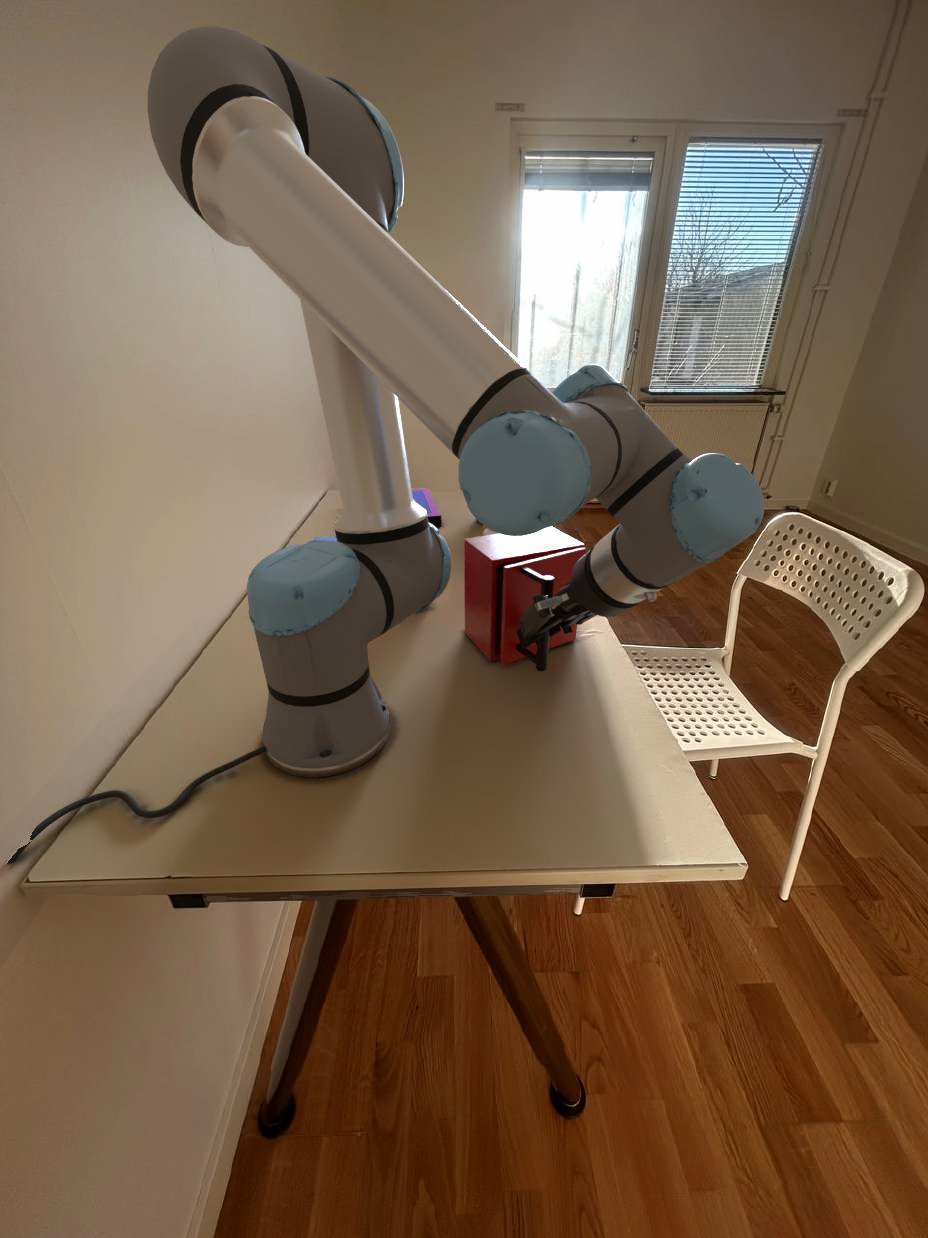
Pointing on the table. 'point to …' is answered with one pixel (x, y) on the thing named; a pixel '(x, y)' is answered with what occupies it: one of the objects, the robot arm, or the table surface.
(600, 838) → the table surface
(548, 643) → the red cabinet door
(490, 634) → the cabinet
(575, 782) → the table surface
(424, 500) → the book
